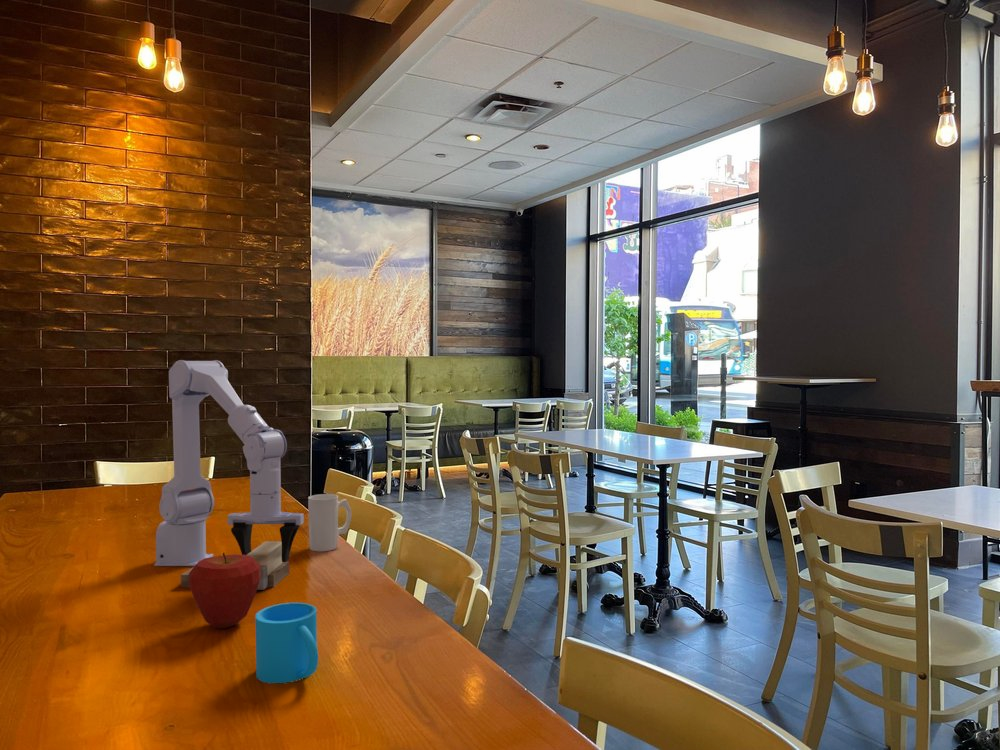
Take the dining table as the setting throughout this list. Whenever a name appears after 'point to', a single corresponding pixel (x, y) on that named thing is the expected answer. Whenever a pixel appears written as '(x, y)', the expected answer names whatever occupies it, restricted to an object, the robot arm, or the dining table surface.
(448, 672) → the dining table surface
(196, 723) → the dining table surface
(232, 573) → the apple
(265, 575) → the stepped beige block
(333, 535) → the mug
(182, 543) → the robot arm
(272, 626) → the mug
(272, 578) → the plank
